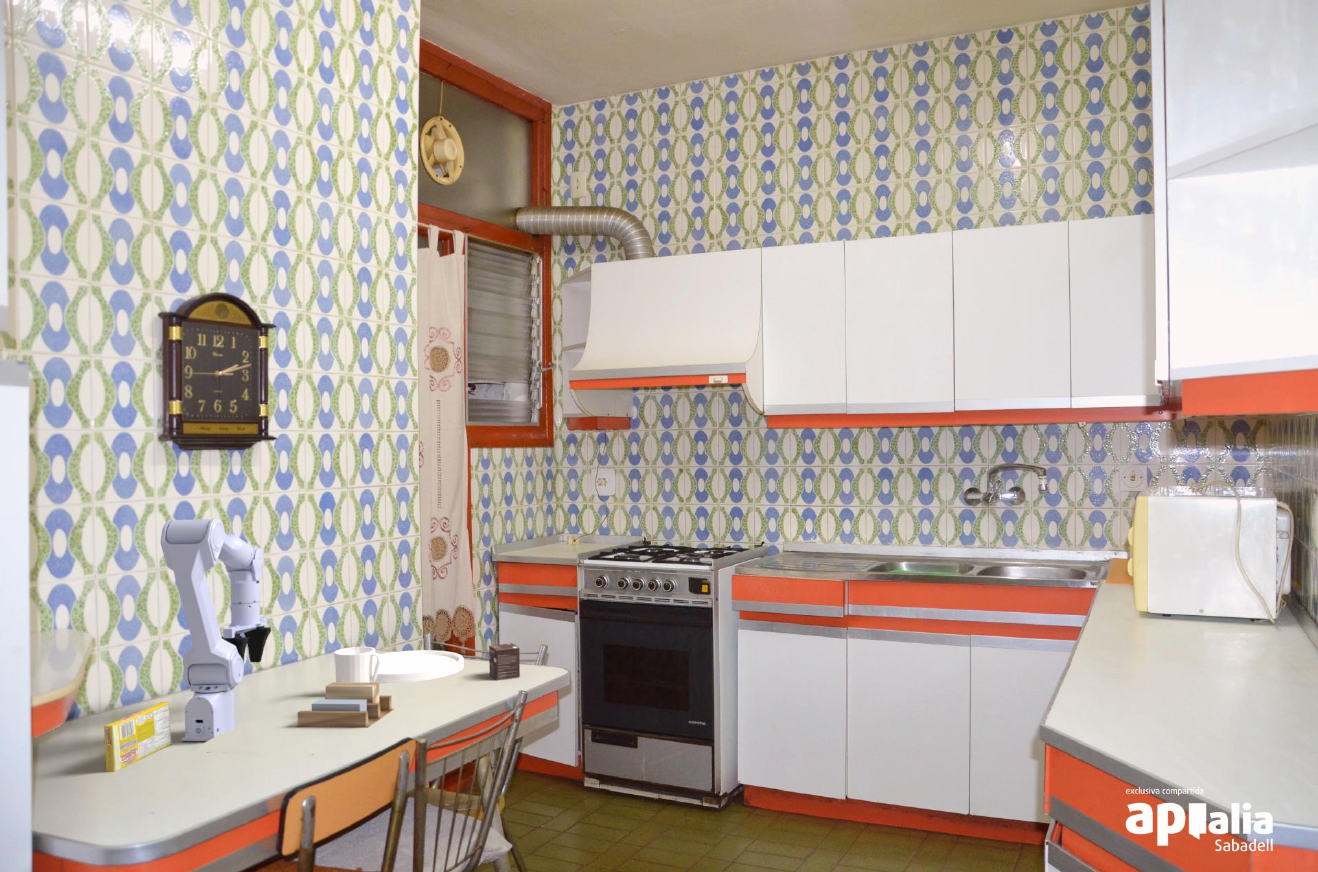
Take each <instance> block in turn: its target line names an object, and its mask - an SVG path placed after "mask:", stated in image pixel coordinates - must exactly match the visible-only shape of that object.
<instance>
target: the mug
mask: <svg viewBox="0 0 1318 872" xmlns="http://www.w3.org/2000/svg"><path fill="white" fill-rule="evenodd" d="M379 654H380V653H378V652H376V648H374V647H372V646H353V647H352V646H351V647H345V648H339V649H337V650H335V651H334V652H333V656H334V664H335V665H334V666H335V682H375V680H376V678H377V675H378V671H379V668H380V665H381V656H380V655H379ZM375 657H376V658H377V663H376V667H375V670H374V659H375Z"/></svg>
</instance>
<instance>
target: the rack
mask: <svg viewBox="0 0 1318 872" xmlns="http://www.w3.org/2000/svg"><path fill="white" fill-rule="evenodd" d="M324 699H326V695H325V696H324ZM392 701H393V700H392V695H379V703H367V711H312V710H299V711H297V725H296V726H294V728H345V729H346V728H349V729H352V728H353V729H354V728H358V729H359V728H363V729H365V728H366V729H368V728H369V727H371V726H372V725H374V724H375V723H377V722H378V721H380V720H381V719H382V718H384V717H385V716H387V715H388V714H389V713H391V712H392V711H394V710H395V708H393V706H392V705H393V704H392V703H393V702H392Z"/></svg>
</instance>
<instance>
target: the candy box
mask: <svg viewBox="0 0 1318 872" xmlns="http://www.w3.org/2000/svg"><path fill="white" fill-rule="evenodd" d="M169 704H170V702H169V701H160V702H159V703H156V704H154V705H152V706H148V707H146V708H144V709H141V710H139V711H137V712H134V713H132V714H130V715H127V716H125V717H123V718H121V719H118V720H116V721H114V722H111V723H109V724H106V725H104V726H103V729H104V735H103V736H104V749H105V751H104V753H105V770H106V772H111V773H112V772H117V771H119V770H122V769H123V768H126V767H128V766H130V765H131V764H133V763H136V762H138V761H140V760H142V759H144V758H146V757H148V756H150V755H152V754H154V753H156V752H158V751H161V750H162V749H165V748H167V747H169V746H171V745H172V734H171V733H172V732H171V717H170V716H171V715H170V705H169Z"/></svg>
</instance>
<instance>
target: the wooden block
mask: <svg viewBox="0 0 1318 872" xmlns="http://www.w3.org/2000/svg"><path fill="white" fill-rule="evenodd" d="M325 696H326V699H342V700H367V703H379V696H380V683H379V682H336V681H334V682H331V683H329V684H327V685H325Z"/></svg>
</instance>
